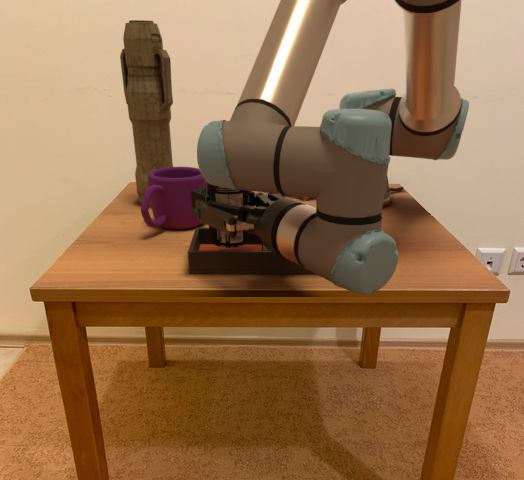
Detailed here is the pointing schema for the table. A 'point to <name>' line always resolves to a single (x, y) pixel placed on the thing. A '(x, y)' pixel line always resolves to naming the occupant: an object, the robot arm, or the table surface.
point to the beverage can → (230, 198)
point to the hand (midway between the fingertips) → (213, 195)
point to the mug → (172, 197)
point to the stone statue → (147, 98)
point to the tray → (237, 257)
